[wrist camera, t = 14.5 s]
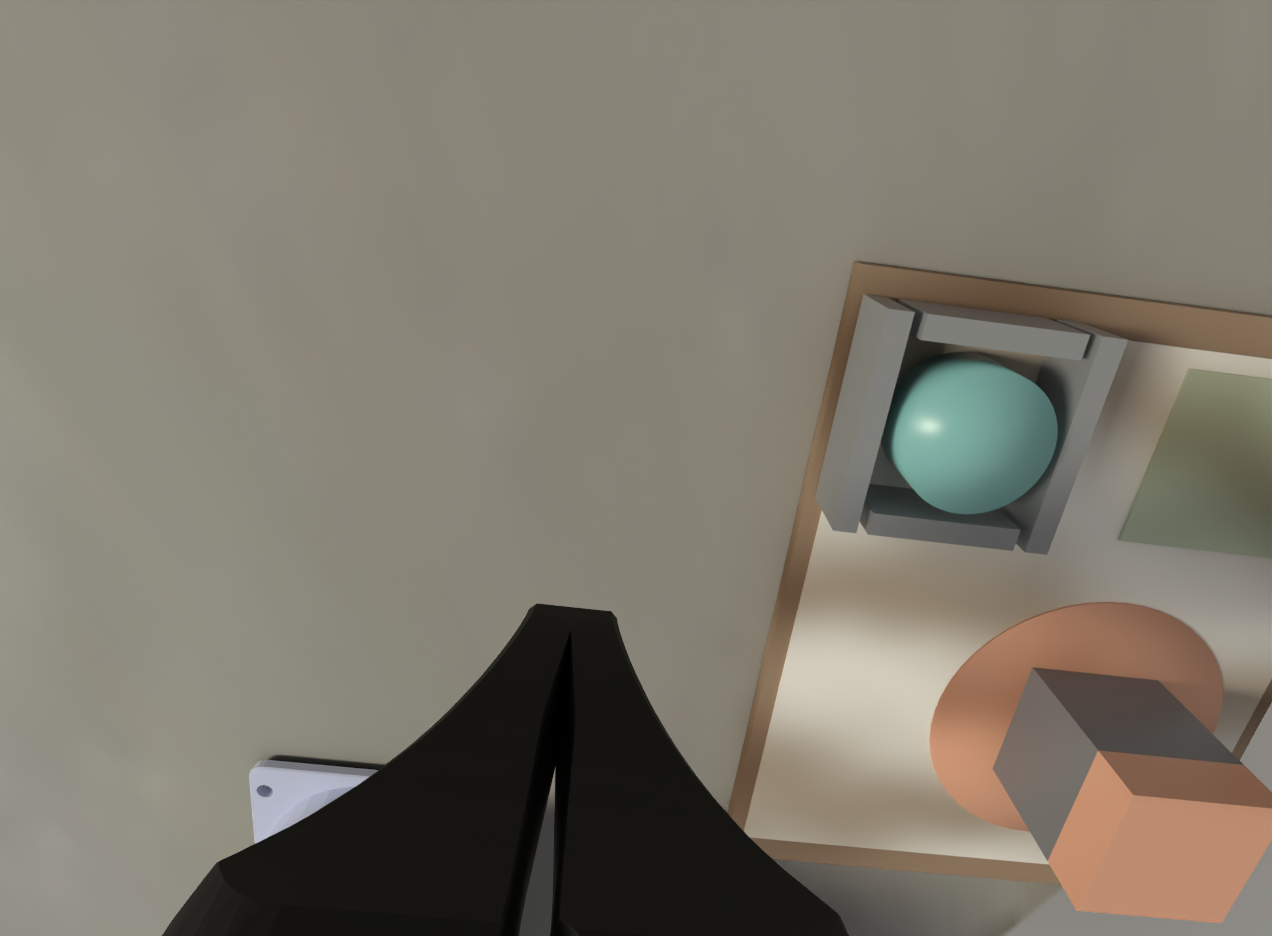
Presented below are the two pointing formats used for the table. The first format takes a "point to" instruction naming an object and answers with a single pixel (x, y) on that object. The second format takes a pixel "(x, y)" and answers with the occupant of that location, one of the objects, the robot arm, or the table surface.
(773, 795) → the colouring board
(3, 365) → the table surface
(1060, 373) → the button housing
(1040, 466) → the button
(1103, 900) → the salmon block
